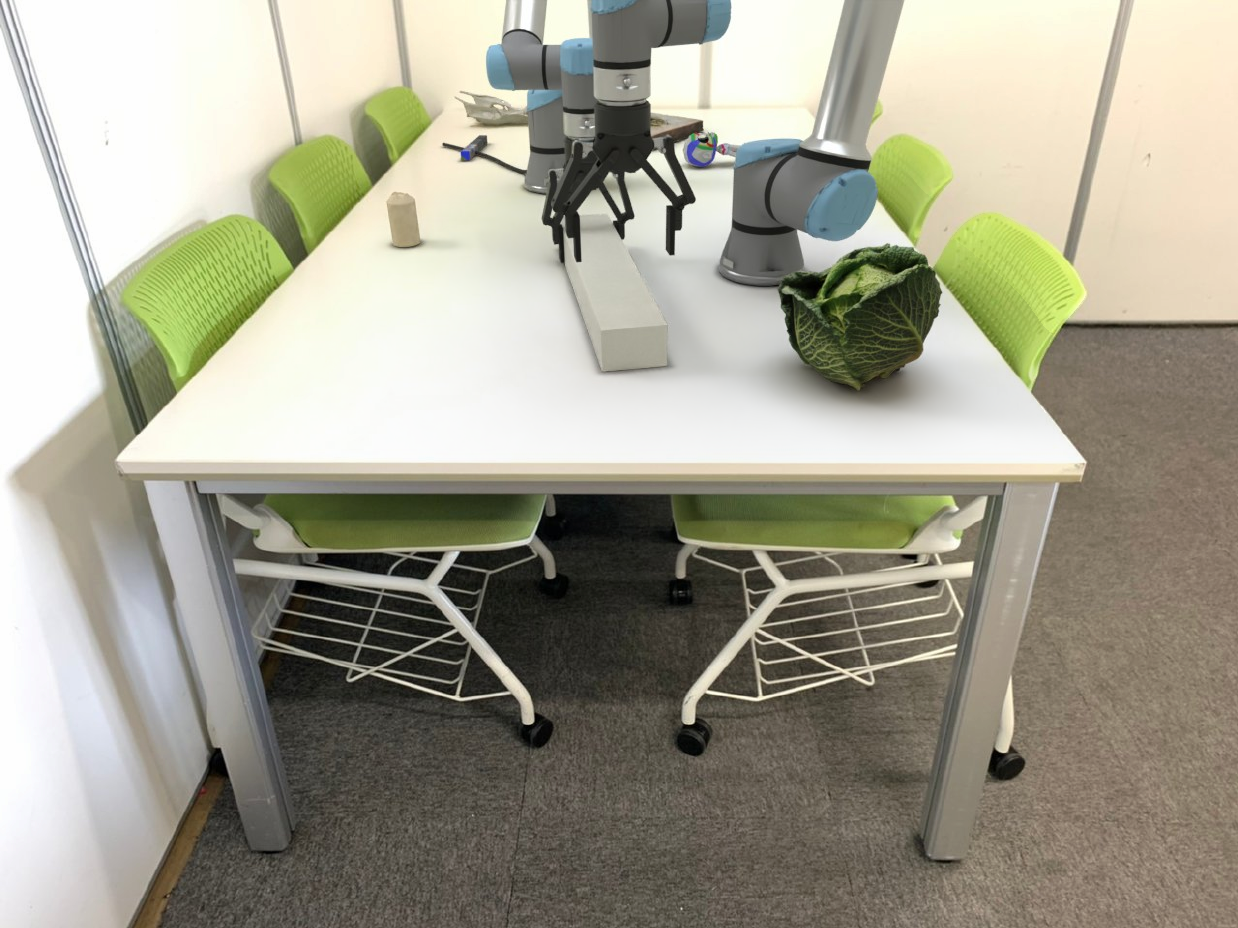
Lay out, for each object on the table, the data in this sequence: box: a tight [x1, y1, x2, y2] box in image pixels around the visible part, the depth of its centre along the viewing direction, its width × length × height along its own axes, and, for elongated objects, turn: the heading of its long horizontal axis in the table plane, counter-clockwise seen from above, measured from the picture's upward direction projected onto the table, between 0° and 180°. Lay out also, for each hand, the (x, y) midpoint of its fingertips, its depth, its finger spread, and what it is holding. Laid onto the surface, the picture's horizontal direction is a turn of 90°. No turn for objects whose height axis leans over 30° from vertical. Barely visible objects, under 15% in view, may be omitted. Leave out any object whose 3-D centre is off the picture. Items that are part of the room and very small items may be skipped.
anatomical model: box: [454, 90, 528, 126], centre depth 274 cm, size 15×9×25 cm
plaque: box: [651, 112, 705, 151], centre depth 257 cm, size 30×7×30 cm
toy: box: [682, 131, 746, 168], centre depth 228 cm, size 10×8×30 cm
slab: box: [560, 213, 669, 373], centre depth 152 cm, size 55×10×7 cm, turn 10°
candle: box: [385, 191, 421, 248], centre depth 178 cm, size 6×6×10 cm
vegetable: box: [777, 242, 943, 392], centre depth 124 cm, size 20×19×20 cm
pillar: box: [460, 134, 489, 162], centre depth 244 cm, size 2×2×20 cm
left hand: (589, 258), depth 170 cm, fingers closed on slab, 10 cm apart
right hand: (624, 256), depth 130 cm, fingers open, 13 cm apart
